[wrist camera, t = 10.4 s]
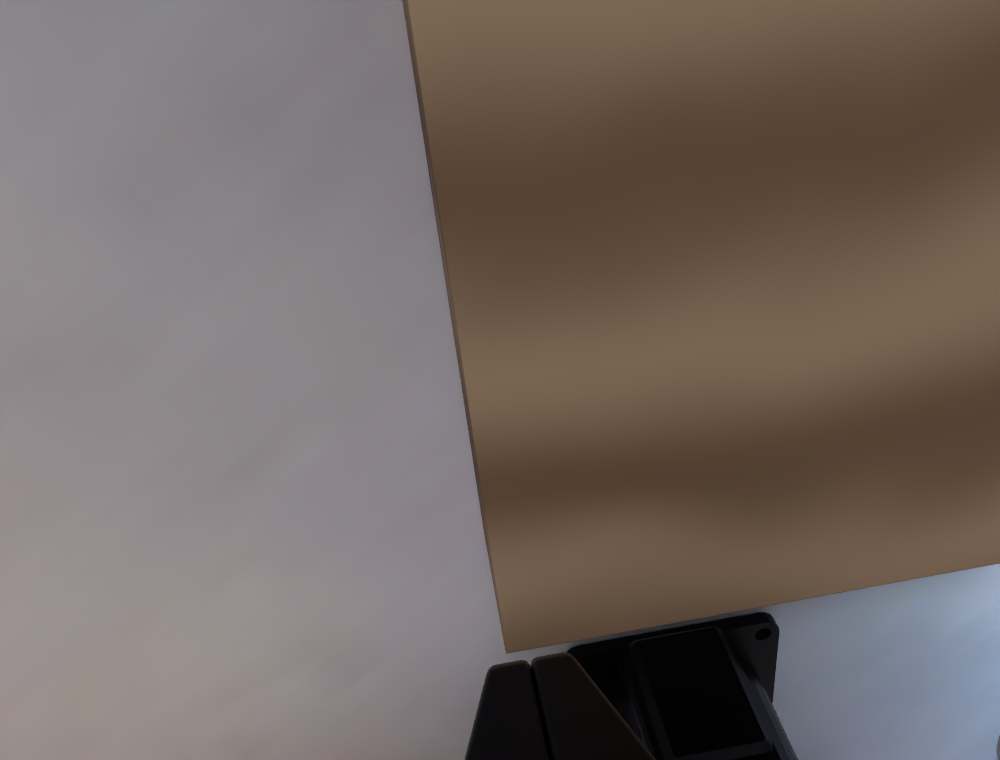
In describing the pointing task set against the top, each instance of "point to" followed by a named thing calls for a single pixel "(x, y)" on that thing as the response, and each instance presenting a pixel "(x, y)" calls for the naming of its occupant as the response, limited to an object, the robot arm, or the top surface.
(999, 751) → the lumpy-topped squat cylinder
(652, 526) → the flat brown block
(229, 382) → the top surface
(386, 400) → the top surface
